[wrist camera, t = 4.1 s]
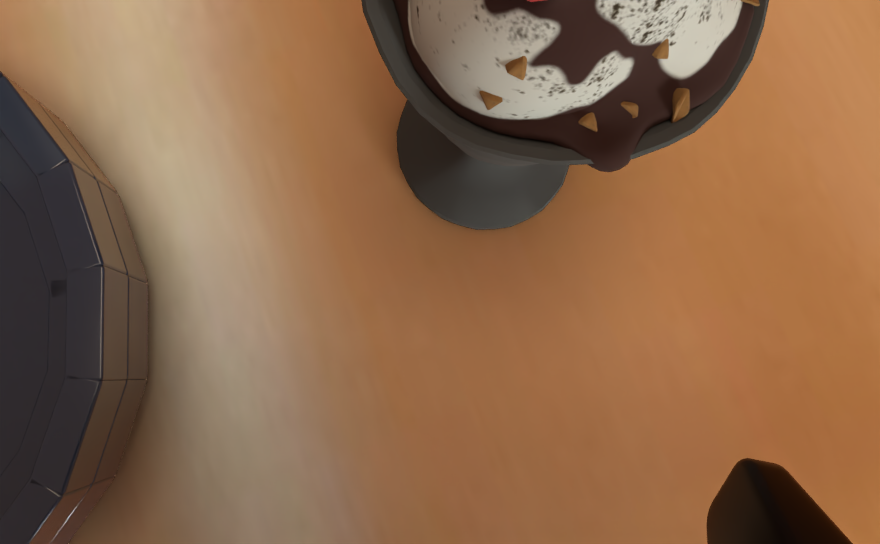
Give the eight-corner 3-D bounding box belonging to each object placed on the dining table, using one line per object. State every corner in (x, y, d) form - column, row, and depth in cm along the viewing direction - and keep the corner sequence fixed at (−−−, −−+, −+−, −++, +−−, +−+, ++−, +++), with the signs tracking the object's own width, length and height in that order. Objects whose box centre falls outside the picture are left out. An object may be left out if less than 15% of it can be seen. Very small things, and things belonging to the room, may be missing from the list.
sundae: (378, 274, 22) (375, 64, 7) (357, 40, 23) (313, -587, 8) (613, 252, 23) (1064, 16, 8) (584, 25, 23) (941, -586, 8)
